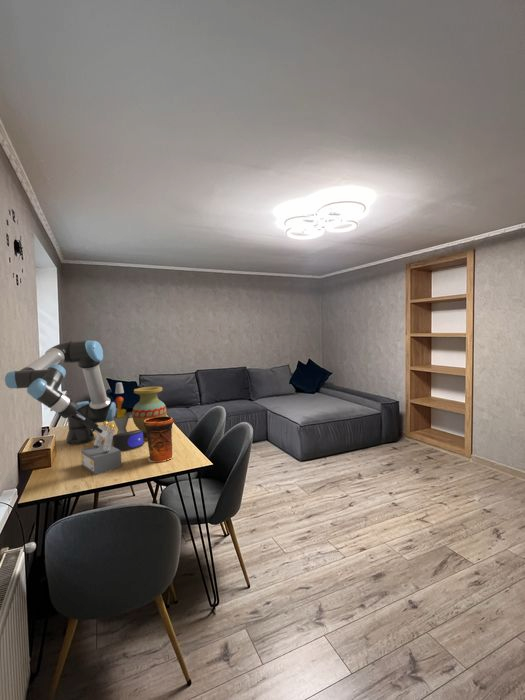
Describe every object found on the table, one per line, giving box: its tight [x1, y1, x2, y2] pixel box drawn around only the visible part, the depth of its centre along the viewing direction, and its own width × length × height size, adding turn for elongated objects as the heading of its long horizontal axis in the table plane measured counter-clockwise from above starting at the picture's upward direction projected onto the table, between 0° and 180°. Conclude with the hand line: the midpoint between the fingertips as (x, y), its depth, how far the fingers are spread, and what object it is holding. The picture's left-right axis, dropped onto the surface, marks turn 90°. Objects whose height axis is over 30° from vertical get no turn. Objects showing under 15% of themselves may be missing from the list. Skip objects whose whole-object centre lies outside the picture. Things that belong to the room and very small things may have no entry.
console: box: [80, 443, 123, 476], centre depth 165 cm, size 17×13×8 cm
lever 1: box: [93, 421, 109, 447], centre depth 171 cm, size 3×2×13 cm
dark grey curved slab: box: [112, 429, 145, 452], centre depth 189 cm, size 16×5×9 cm, turn 127°
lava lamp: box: [113, 382, 130, 434], centre depth 203 cm, size 9×9×35 cm
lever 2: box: [103, 423, 115, 453], centre depth 162 cm, size 3×2×13 cm
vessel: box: [144, 416, 175, 463], centre depth 173 cm, size 14×14×20 cm
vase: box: [131, 386, 167, 442], centre depth 208 cm, size 20×20×30 cm
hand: (106, 435), depth 160 cm, fingers closed
